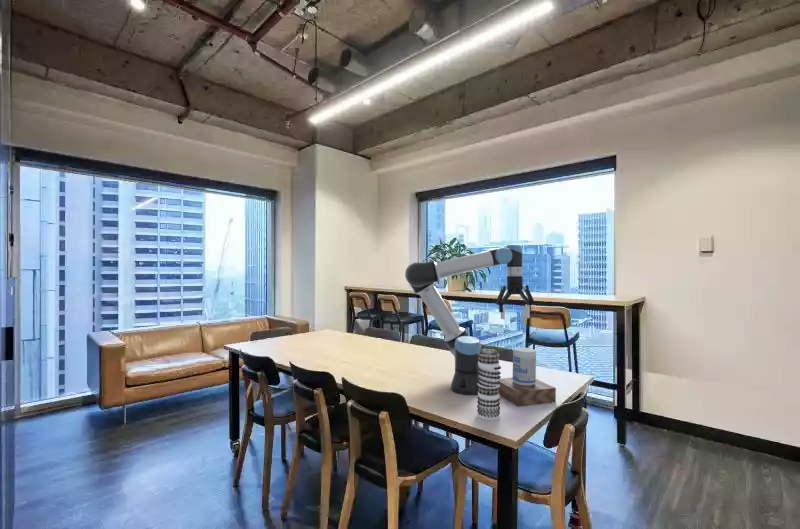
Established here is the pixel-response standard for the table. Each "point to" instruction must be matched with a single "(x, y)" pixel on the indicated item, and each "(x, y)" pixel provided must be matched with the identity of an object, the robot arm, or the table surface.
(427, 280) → the robot arm
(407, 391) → the table surface
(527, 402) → the walnut riser
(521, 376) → the supplement tub
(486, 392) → the decorative candle
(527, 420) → the table surface
